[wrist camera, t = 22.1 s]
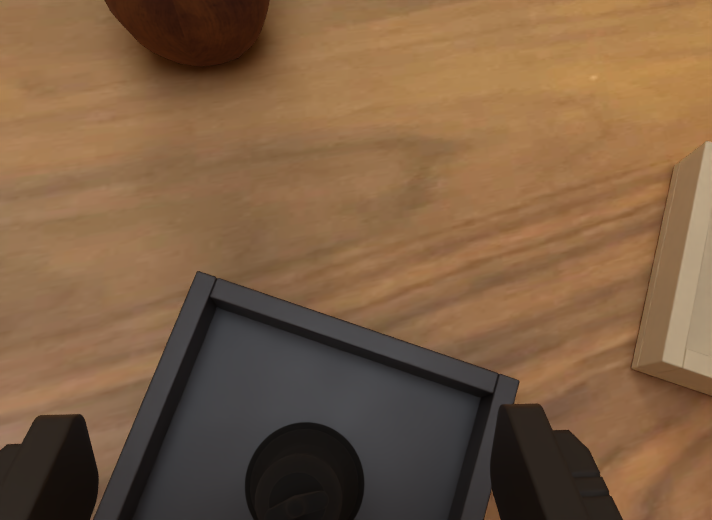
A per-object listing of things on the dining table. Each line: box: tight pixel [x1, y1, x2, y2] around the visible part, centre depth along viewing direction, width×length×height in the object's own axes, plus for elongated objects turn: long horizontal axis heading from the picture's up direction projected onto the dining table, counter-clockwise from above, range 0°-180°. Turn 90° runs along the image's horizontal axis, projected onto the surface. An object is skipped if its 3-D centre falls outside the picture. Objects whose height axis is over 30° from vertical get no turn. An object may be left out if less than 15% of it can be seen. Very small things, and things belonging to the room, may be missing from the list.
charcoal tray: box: [93, 271, 519, 520], centre depth 24 cm, size 13×12×3 cm
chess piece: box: [245, 422, 364, 520], centre depth 20 cm, size 4×4×10 cm
